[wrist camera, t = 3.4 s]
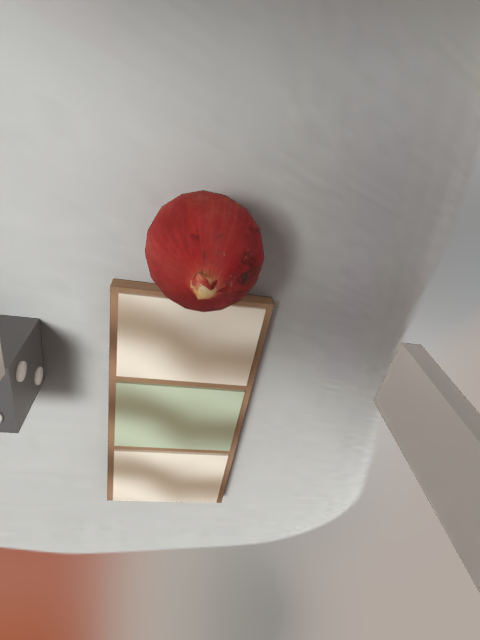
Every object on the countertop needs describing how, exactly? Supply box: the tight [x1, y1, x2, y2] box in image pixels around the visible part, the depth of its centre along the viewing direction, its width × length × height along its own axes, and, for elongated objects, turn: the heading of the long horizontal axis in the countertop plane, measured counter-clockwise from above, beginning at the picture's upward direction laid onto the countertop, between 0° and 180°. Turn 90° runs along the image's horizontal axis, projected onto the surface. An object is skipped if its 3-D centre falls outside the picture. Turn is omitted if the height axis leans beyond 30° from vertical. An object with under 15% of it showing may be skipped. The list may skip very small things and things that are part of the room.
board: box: [107, 279, 274, 503], centre depth 30 cm, size 21×10×1 cm, turn 169°
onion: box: [145, 190, 264, 312], centre depth 19 cm, size 6×6×8 cm
